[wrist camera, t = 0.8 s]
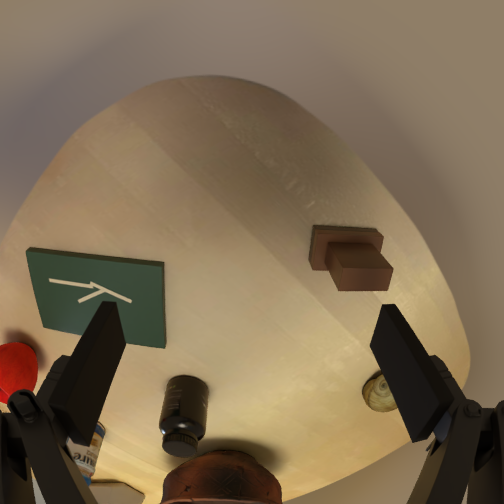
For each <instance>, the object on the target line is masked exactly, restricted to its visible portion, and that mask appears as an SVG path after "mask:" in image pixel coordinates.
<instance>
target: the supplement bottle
mask: <svg viewBox="0 0 504 504" xmlns="http://www.w3.org/2000/svg"><path fill="white" fill-rule="evenodd" d="M208 396H209V392H208V388H207V387H206V385H205V384H204V383H203V382H201V381H200V380H198V379H196V378H193V377H188V376H180V377H176V378H174V379H172V380H171V381H170V382H169V383H168V385H167V388H166V392H165V397H164V401H163V406H162V411H161V416H160V421H159V429H160V431H161V433H162V434H163V443H162V448H163V449H164V451H166V452H167V453H168V454H171V455H173V456H177V457H190V456H193V455H195V454H196V452H197V446H198V441H199V440H201V439H202V438H203V437H204V435H205V432H206V421H207V409H208Z"/></svg>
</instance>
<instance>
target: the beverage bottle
mask: <svg viewBox="0 0 504 504" xmlns="http://www.w3.org/2000/svg"><path fill="white" fill-rule="evenodd" d="M104 435H105V430H104V428H103V427H102V425H101V424H100V423H97V426H96V429H95V432H94V435H93V438H92V441H91V444H90V447H87V446H82V445H78V444H74V443H73V442H72V441H71V439H70V438H69V436H68V439H67V441H66V444H67V445H68V447H69V449H70V451H71V454H72V456H73V458H74V460H75V462H76V464H77V466H78V468H79V470H80V472H81V474H82V476H83V477H84V479H85V481H86V483H87V485H88V487H89V485H90V484H91V476H93V475H94V472H95V466H96V462H97V458H98V455H99V451H100V448H101V444H102V441H103V438H104Z"/></svg>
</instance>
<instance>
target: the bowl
mask: <svg viewBox="0 0 504 504" xmlns="http://www.w3.org/2000/svg"><path fill="white" fill-rule="evenodd" d="M160 504H282V491H281V486H280V484H279V482H278V480H277V479H276V478H275V476H274V475H273V474H271V472H269V471H268V470H267V469H266V468H264V467H263V466H262V465H261V464H259V463H258V462H257V461H256V460H255V459H254V458H253V457H252V456H250V455H248V454H245V453H242V452H237V451H224V452H222V451H213V452H208V453H206V454H204V455H201V456H199V457H197V458H194V459H192V460H190V461H188V462H185V463H183V464H181V465H180V466H178V467H177V468H175V469H174V470H172V471H171V472H170V473H168V474H167V476H166V478H165V479H164V483H163V497H162V500H161V503H160Z"/></svg>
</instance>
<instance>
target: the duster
mask: <svg viewBox="0 0 504 504" xmlns="http://www.w3.org/2000/svg"><path fill="white" fill-rule="evenodd" d="M383 239H384V236H383V235H382V234H381V233H379V232H378V231H377V230H376V229H368V228H351V227H332V226H313V232H312V239H311V247H310V254H309V262H310V265H311V267H312V270H323V271H329V273H330V275H331V277H332V279H333V281H334V283H335V285H336V287H337V289H338V291H388V288H389V284H390V280H391V277H392V273H393V267H392V266H391V265H390V264H389V263H388V261H387V260H386V259H385V258H384V257H383V256H382V254H381V253H380V252H381V248H382V243H383Z"/></svg>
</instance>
